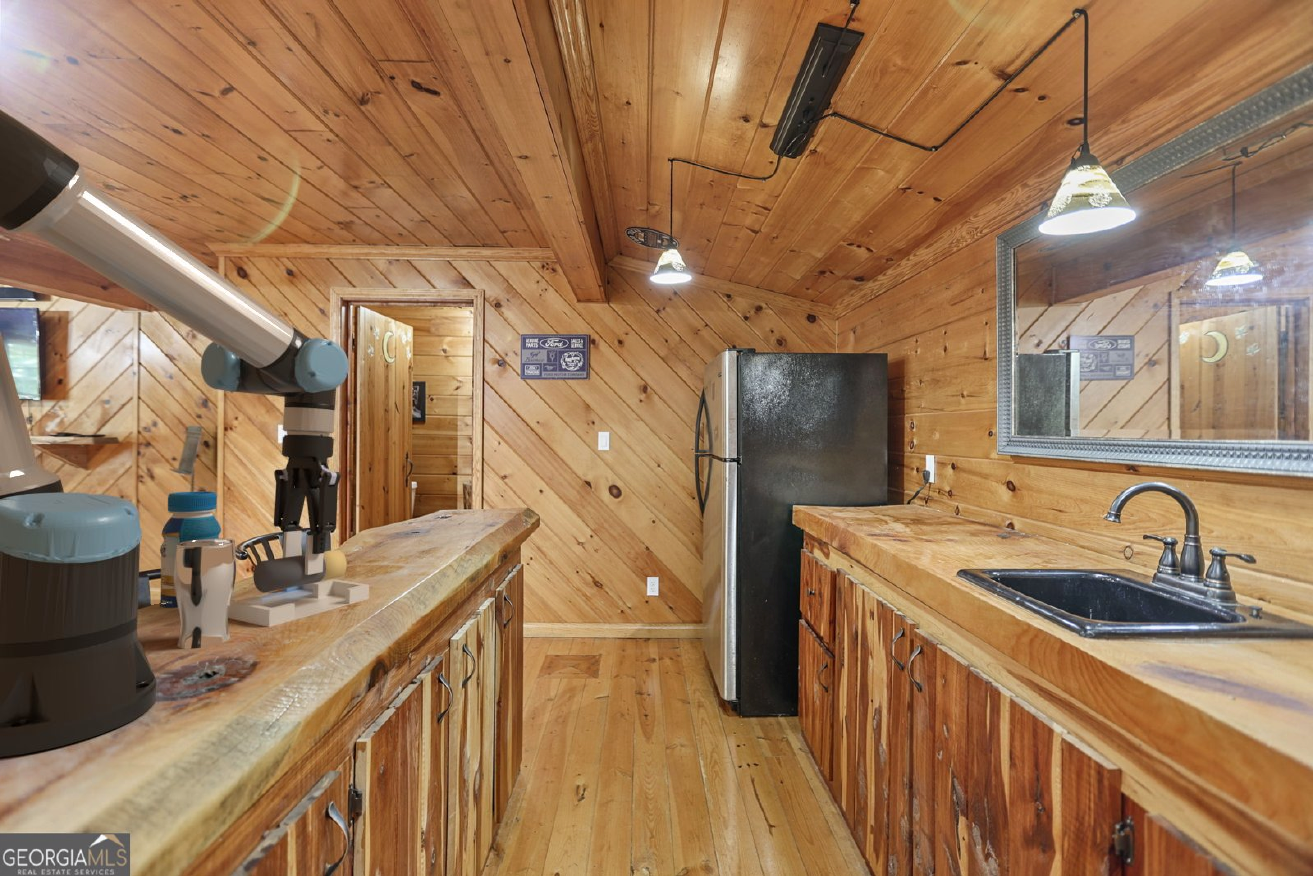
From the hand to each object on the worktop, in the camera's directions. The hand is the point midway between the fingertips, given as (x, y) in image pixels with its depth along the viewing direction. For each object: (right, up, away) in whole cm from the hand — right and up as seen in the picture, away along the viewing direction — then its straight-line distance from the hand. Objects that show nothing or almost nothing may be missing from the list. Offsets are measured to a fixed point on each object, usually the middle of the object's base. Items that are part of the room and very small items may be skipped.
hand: (302, 571), depth 99 cm
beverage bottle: (-22, -7, +3) cm, 23 cm away
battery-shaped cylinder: (0, -2, 0) cm, 2 cm away
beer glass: (-4, -7, -16) cm, 18 cm away
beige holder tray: (-4, -7, +2) cm, 8 cm away
